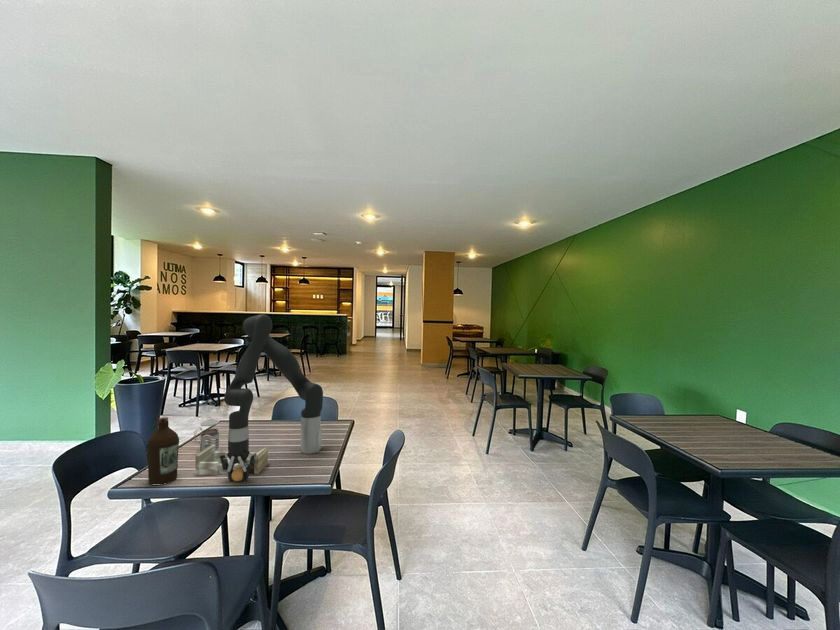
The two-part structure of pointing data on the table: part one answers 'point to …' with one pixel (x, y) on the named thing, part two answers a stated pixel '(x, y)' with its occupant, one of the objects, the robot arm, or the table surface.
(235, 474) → the ball
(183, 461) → the table surface
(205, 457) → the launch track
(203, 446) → the french press
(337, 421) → the table surface
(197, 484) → the table surface
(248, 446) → the robot arm
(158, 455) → the olive oil
